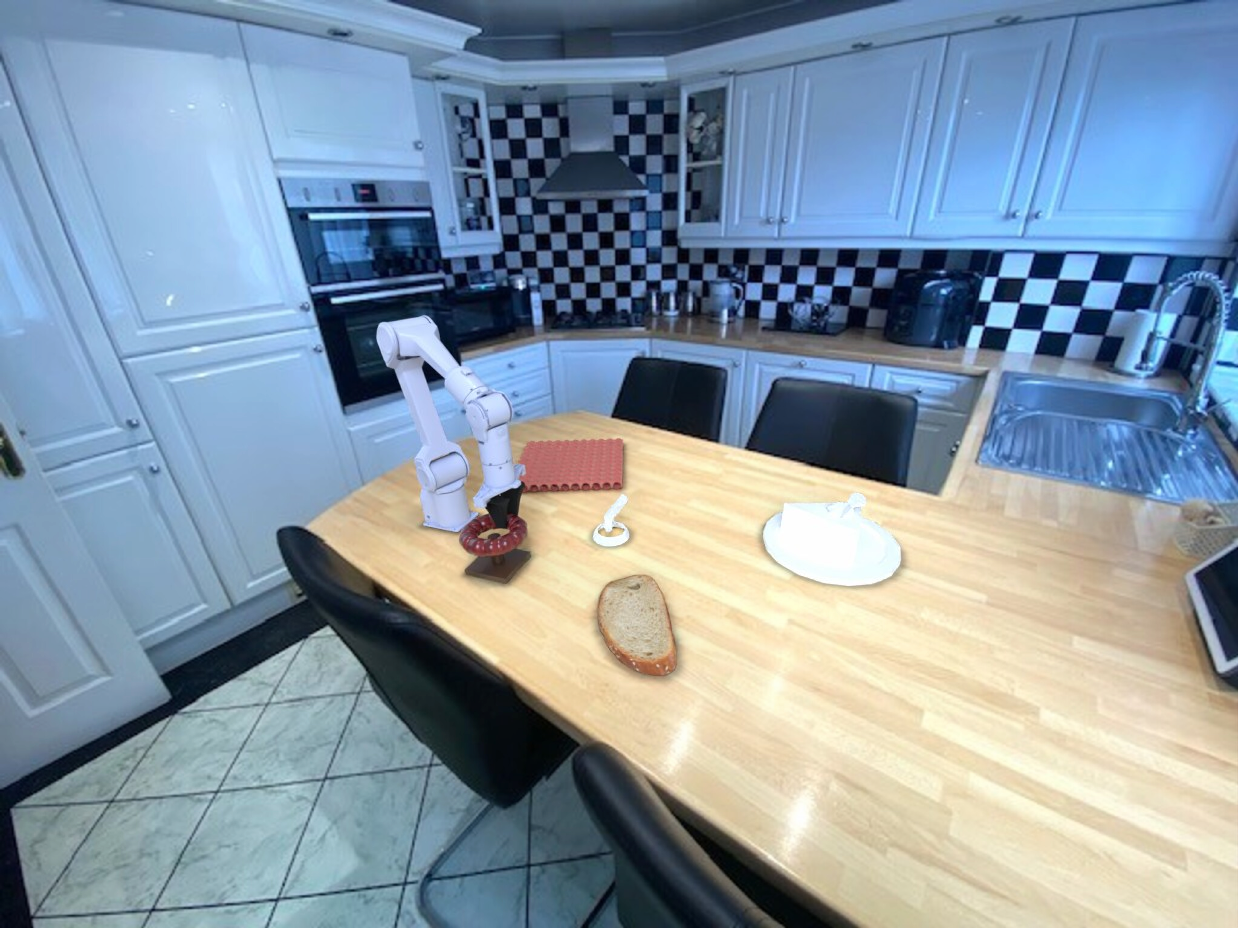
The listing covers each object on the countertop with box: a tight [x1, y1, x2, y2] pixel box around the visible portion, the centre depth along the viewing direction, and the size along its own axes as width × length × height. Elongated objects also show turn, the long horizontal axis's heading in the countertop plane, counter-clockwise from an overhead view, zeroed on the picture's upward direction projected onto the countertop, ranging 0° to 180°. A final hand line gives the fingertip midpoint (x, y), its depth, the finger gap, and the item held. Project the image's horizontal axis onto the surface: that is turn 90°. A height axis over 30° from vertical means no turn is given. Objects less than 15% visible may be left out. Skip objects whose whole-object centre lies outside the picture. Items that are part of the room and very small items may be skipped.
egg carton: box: [517, 437, 624, 493], centre depth 136 cm, size 28×28×2 cm
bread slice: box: [596, 574, 678, 677], centre depth 81 cm, size 18×18×4 cm
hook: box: [592, 493, 631, 547], centre depth 103 cm, size 8×12×7 cm
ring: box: [458, 512, 529, 557], centre depth 95 cm, size 12×12×3 cm
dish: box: [762, 492, 902, 587], centre depth 97 cm, size 25×25×11 cm
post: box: [464, 532, 532, 585], centre depth 96 cm, size 9×9×7 cm
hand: (507, 522), depth 98 cm, fingers closed on ring, 3 cm apart
